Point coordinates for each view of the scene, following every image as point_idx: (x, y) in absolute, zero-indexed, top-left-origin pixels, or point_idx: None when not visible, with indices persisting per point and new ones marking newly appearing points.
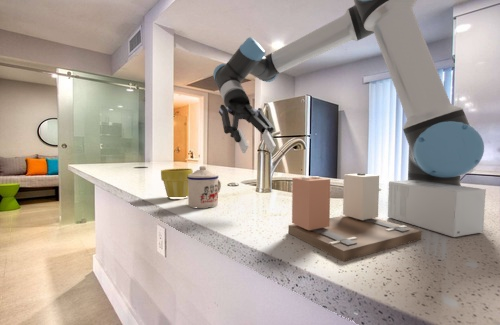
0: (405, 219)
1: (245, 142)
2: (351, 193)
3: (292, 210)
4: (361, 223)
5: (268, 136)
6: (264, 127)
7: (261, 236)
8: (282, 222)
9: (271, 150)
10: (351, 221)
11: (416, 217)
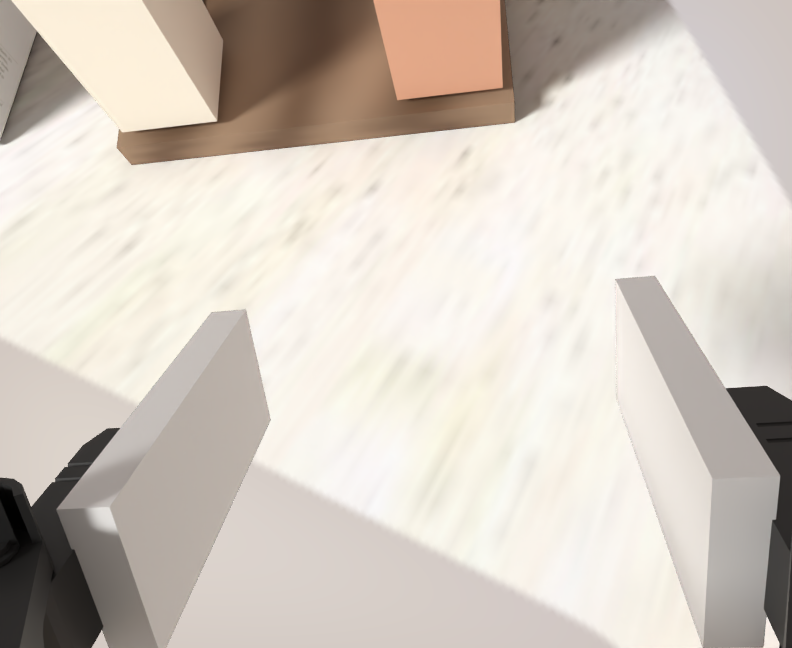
0: (16, 66)
1: (653, 300)
2: (177, 10)
3: (501, 48)
4: (238, 39)
5: (183, 406)
6: (36, 591)
7: (636, 124)
8: (460, 247)
9: (259, 382)
10: (249, 67)
11: (16, 14)
